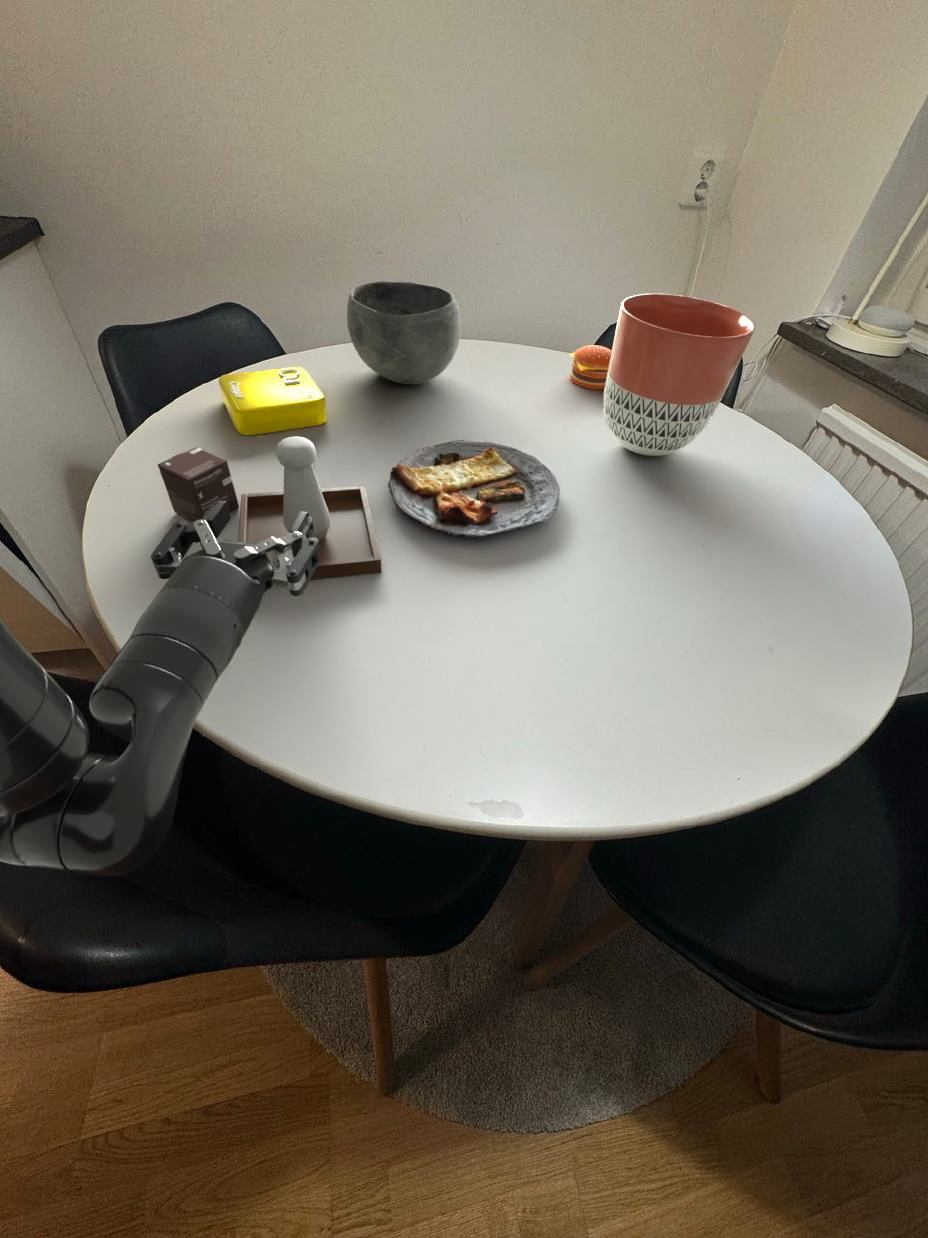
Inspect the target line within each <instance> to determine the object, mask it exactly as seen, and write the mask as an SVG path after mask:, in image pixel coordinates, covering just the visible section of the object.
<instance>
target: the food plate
mask: <svg viewBox="0 0 928 1238" xmlns="http://www.w3.org/2000/svg"><path fill="white" fill-rule="evenodd" d="M389 474H390V475H389V480H388V484H387V487H388V489H389V490H388V491H389V493H390V496H391V498H392V500H393V502H394V504H395V506H396V508H397V509H398V510H399V511H400V512H401V513H402V514H403V515H404V516H406V517H408V518H410V519H411V520H414V521H416V522H418V523H420V524H422V525H424V526H425V527H426V528H428V529H429V530H433V531H436V532H437V533H444V536H447V532H448V533H449V535H451V536H453V537H457V536H459V535H464V536H465V537H466V538H469V539H470V538H478V537H488V535H494V534H499V533H505V532H509V531H510V532H511V531H514V530H515V529H520V528H524V527H528V526H529V525H531V524H534V523H545V522H547V521H548V520H550V519H551V518H552V517H553V516H554V515H555V514H556V512H557V511H558V508H559V507H560V505H559V504H560V493H561V492H560V491H561V488H560V484H559V483H558V481H557V478H556V475H554V474H553V472H552V471H551V470H550V469H549V468H548V467H546V465H545V464H544V463H542V462H541V461H540V460H539V459H538V458H537V457H536V456H533V455H531V454H529V453H527V452H524V451H522V450H520V449H519V448H517V447H513V446H510V445H507V444H503V443H500V442H495V441H493V442H492V441H487V440H485V441H479V440H478V441H476V440H466V439H458V440H452V441H447V442H443V443H438V444H434V445H431V446H427V447H423V448H420V449H417V450H415V451H412V452H410V453H408V454H406V455H405V456H404V457H403V458H402V459H401V460H400V461H399V462H398V464H396V465H395V467H394V466H392V468H391V471H390V473H389Z"/></svg>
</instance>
